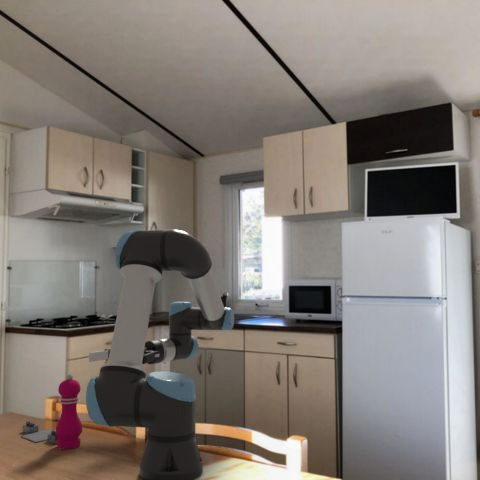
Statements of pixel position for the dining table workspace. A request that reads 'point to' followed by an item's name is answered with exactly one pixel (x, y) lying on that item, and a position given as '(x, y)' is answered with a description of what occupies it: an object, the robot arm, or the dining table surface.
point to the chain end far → (30, 427)
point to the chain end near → (53, 437)
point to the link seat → (38, 436)
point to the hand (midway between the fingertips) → (102, 359)
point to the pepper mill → (69, 415)
